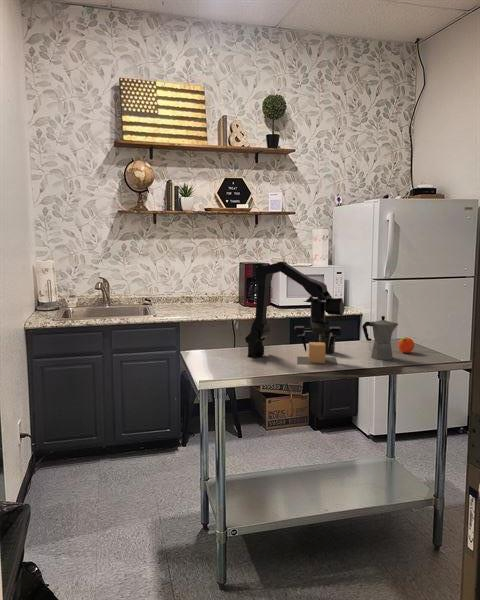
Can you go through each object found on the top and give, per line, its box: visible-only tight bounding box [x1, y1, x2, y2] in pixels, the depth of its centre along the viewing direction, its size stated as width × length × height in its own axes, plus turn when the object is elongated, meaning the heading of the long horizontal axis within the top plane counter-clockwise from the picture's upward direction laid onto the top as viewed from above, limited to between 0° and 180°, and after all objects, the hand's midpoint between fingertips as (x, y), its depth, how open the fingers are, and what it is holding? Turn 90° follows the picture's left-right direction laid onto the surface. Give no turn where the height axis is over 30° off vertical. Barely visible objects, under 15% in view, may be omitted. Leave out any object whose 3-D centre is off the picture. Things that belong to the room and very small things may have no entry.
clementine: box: [397, 336, 415, 354], centre depth 229 cm, size 8×7×7 cm
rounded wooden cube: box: [308, 341, 326, 363], centre depth 209 cm, size 6×6×7 cm
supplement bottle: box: [318, 326, 336, 355], centre depth 226 cm, size 7×7×12 cm
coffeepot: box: [361, 315, 399, 361], centre depth 219 cm, size 15×9×18 cm, turn 93°
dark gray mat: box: [296, 355, 339, 366], centre depth 210 cm, size 16×14×1 cm
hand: (317, 351), depth 209 cm, fingers open, 9 cm apart
